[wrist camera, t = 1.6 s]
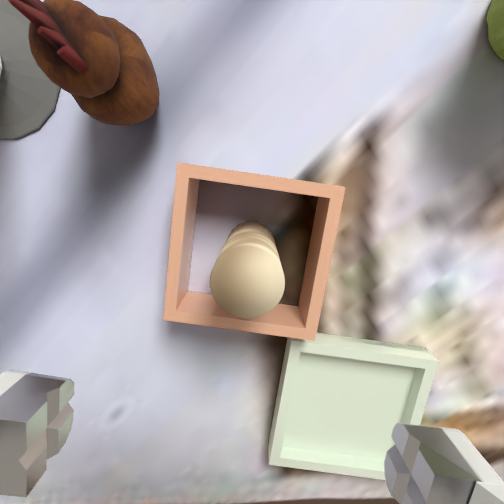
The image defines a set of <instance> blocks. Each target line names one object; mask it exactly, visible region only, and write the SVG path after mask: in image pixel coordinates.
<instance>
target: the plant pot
mask: <svg viewBox="0 0 504 504" xmlns="http://www.w3.org/2000/svg"><path fill="white" fill-rule="evenodd" d="M487 24H488V36H489V37H488V39H489V43H490V45H491V47H492V49H493V50H494V52H495V53H496V54H497V55H498V56H499V57H500V58H501V59H502V60H504V0H492V2H491V4H490V7H489V10H488V13H487Z"/></svg>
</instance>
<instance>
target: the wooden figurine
mask: <svg viewBox="0 0 504 504" xmlns="http://www.w3.org/2000/svg"><path fill="white" fill-rule="evenodd" d="M8 1H9V2H10V3H11V4H12V5H13V6H14V7H15V8H16V9H17V10H18V11H19V12H21V13H22V14H23V15H24V16H25V17H26V18H27V19H28V20H30V21H31V22H30V24H29V34H28V38H29V44H30V50H31V53H32V55H33V57H34V59H35V61H36V63H37V65H38V67H39V68H40V69H41V70H42V71H43V72H44V73H45V75H46V76H47V77H48V78H49V79H50V80H51V81H52V82H53V83H54V84H56V85H57V86H59V87H60V88H62V89H64V90H65V91H67V92H69V93H71V94H72V96H73V97H74V99H75V100H76V102H77V103H78V105H79V106H80V108H81V109H82V110H83V111H84V112H86V113H87V114H89V115H90V116H92V117H93V118H95V119H96V120H98V121H100V122H102V123H105V124H111V125H121V126H127V125H132V124H136V123H140V122H143V121H145V120H146V119H148V118H150V117H151V116H152V115H153V114H154V112H155V110H156V108H157V107H158V105H159V88H158V83H157V78H156V74H155V71H154V68H153V65H152V62H151V59H150V57H149V55H148V53H147V51H146V49H145V47H144V45H143V43H142V41H141V39H140V38H139V37H138V36H137V34H136V33H134V32H133V31H131V30H130V29H128V28H127V27H126V26H124V25H123V24H121V23H120V22H118V21H117V20H116V19H114V18H109V17H104V16H99V15H98V14H96V13H95V12H94V11H93V10H91V9H90V8H88V7H87V6H85V5H84V4H82V3H81V2H78V1H74V0H45V1H44V2H41V1H40V0H8Z"/></svg>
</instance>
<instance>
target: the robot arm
mask: <svg viewBox="0 0 504 504" xmlns="http://www.w3.org/2000/svg"><path fill="white" fill-rule="evenodd" d="M73 395H74V382H73V381H72V380H71V379H67V378H61V377H55V376H48V375H42V374H35V373H28V372H21V371H14V370H10V371H5V372H3V373H2V374H1V375H0V495H9V496H20V497H27V496H28V494H29V493H30V491H31V490H32V489H33V487H34V486H35V484H36V483H37V482H38V480H39V479H40V478H41V476H42V475H43V473H44V472H45V471H46V460H47V459H49V458H50V457H52V456H54V455H56V454H57V453H58V452H59V451H60V450H61V448H62V447H63V445H64V444H65V442H66V440H67V437H68V435H69V433H70V430H71V427H72V422H73V411H74V410H73V409H72V407H71V406H70V405H69V403H68V401H69V400H70V399H71V398H72V397H73ZM391 437H392V439H393V441H394V443H395V445H394V446H392V447H391V448H390V449H389V450H388V451H387V453H386V457H385V461H384V471H385V479H386V483H387V486H388V489H389V491H390V494H391V496H393V497H394V498H395V499H396V500H397V501H398V502H399V503H400V504H504V482H503V481H502V479H501V478H500V477H499V476H498V475H497V473H496V472H495V471H494V470H493V468H492V467H491V466H490V465H489V464H488V462H487V461H486V460H485V459H484V458H483V456H482V455H481V454H480V453H479V452H478V450H477V449H476V448H475V447H474V446H473V444H472V443H471V442H470V441H469V440H468V438H467V437H466V436H465V435H464V434H463V433H462V432H461V431H459V430H457V429H453V428H443V427H428V426H420V425H412V424H404V423H397V424H396V425H395V426H394V428H393V431H392V435H391Z"/></svg>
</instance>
